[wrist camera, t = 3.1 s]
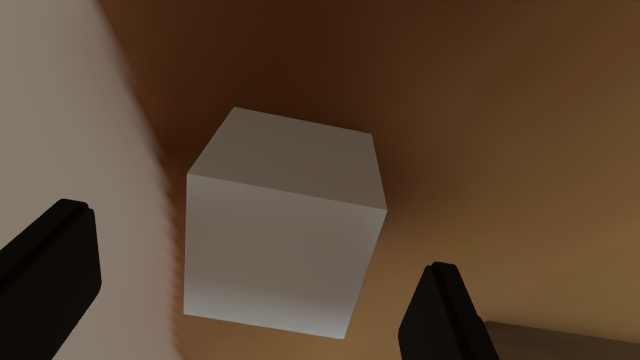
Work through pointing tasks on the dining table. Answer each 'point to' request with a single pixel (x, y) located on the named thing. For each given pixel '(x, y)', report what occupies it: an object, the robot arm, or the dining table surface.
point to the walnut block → (555, 345)
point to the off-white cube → (281, 223)
